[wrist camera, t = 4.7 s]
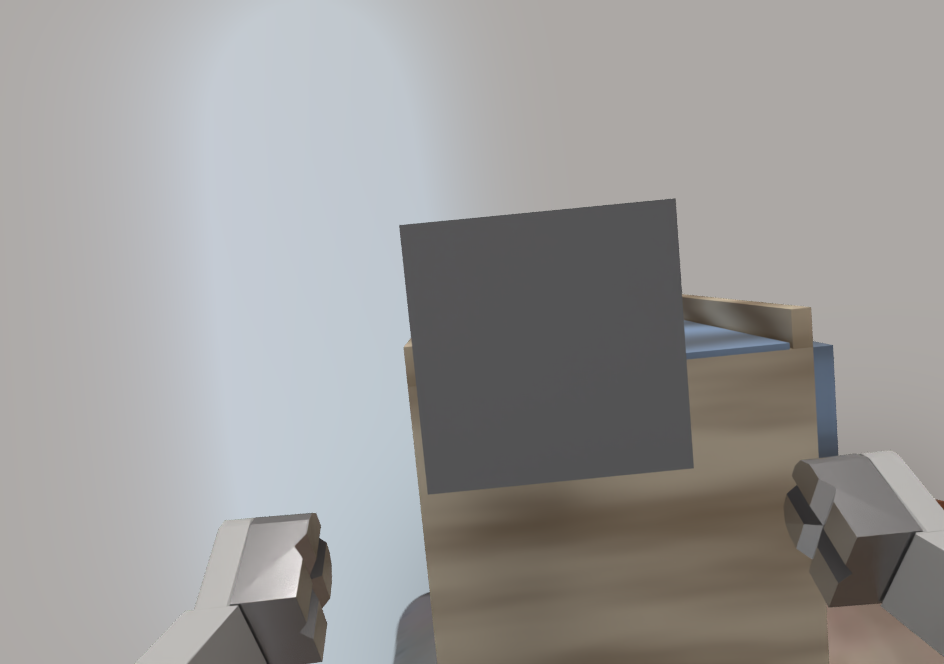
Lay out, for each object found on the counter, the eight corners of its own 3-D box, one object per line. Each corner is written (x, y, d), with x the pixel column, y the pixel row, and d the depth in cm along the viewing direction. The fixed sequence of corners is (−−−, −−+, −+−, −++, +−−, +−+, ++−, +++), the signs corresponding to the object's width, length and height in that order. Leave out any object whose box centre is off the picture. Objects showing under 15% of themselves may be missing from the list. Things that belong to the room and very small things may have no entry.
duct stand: (869, 1112, 22) (831, 305, 20) (489, 1152, 22) (403, 347, 20) (688, 738, 40) (656, 289, 38) (477, 759, 40) (431, 311, 38)
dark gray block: (453, 334, 36) (445, 259, 35) (527, 326, 36) (520, 252, 36) (427, 494, 10) (399, 225, 10) (694, 468, 10) (675, 198, 10)
